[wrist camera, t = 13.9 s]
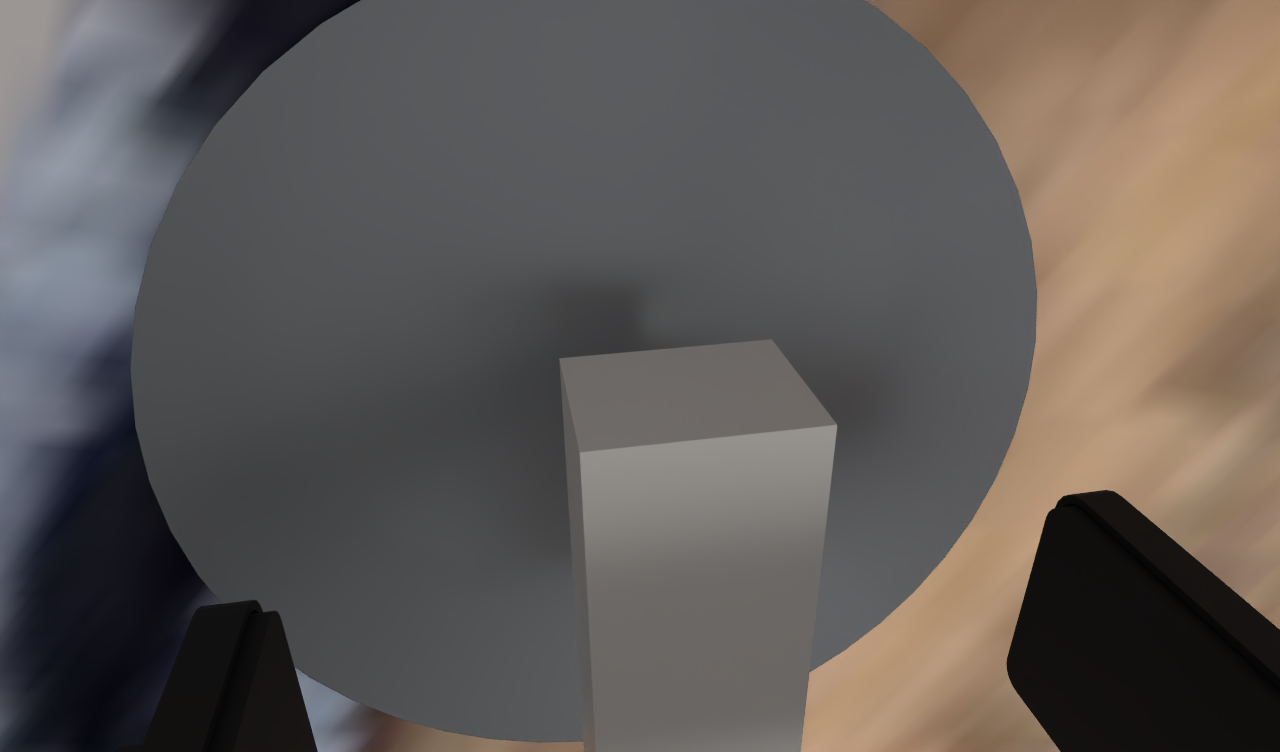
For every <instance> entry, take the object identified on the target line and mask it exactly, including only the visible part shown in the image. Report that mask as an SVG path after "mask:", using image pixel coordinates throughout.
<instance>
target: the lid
mask: <svg viewBox="0 0 1280 752" xmlns="http://www.w3.org/2000/svg"><path fill="white" fill-rule="evenodd" d="M1036 307H1037V288H1036V279H1035V270H1034V261H1033V252H1032V243H1031V238H1030V234H1029V231H1028V227H1027V223H1026V219H1025V215H1024V212H1023V208H1022V204H1021V200H1020V197H1019V193H1018V190H1017V187H1016V185H1015V183H1014V180H1013V178H1012V176H1011V173H1010V171H1009V169H1008V167H1007V164H1006V162H1005V160H1004V157H1003V155H1002V153H1001V150H1000V148H999V146H998V144H997V141H996V139H995V138H994V136H993V135H992V133H991V132H990V130H989V128H988V127H987V125H986V124H985V122H984V121H983V119H982V117H981V116H980V114H979V113H978V111H977V110H976V108H975V106H974V105H973V103H972V102H971V100H970V99H969V97H968V95H967V94H966V92H965V91H964V90H963V89H962V88H961V87H960V86H959V84H958V83H957V82H956V81H955V80H954V79H953V78H952V77H951V75H950V74H949V73H948V72H947V71H946V70H945V69H944V68H943V66H942V65H941V64H940V63H939V62H938V61H937V60H936V59H935V57H934V56H933V55H932V54H931V53H930V52H929V51H928V50H927V48H926V47H924V46H923V45H922V44H921V43H919V42H918V41H917V40H916V39H915V38H913V37H912V36H911V35H910V34H908V33H907V32H906V31H905V30H904V29H902V28H901V27H900V26H899V25H897V24H896V23H895V22H894V21H893V20H891V19H890V18H889V17H888V16H886V15H885V14H884V13H883V12H882V11H880V10H879V9H878V8H876V7H874V6H873V5H871V4H869V3H868V2H866V1H864V0H360V1H359V2H357V3H355V4H354V5H352V6H350V7H349V8H347V9H345V10H344V11H342V12H340V13H339V14H337V15H335V16H333V17H332V18H330V19H328V20H327V21H325V22H323V23H322V24H320V25H319V26H318V27H317V28H316V29H314V30H313V31H312V32H311V33H309V34H308V35H307V36H306V37H305V38H303V39H302V40H301V41H300V42H298V43H297V44H296V45H295V46H294V47H292V48H291V49H290V50H289V51H287V52H286V53H285V54H284V55H283V56H281V57H280V58H279V59H278V60H277V61H275V62H274V63H273V64H272V65H270V66H269V67H268V68H267V69H266V70H264V71H263V72H262V73H261V75H260V76H259V77H258V78H257V79H256V80H255V81H254V82H253V83H252V85H251V86H250V87H249V88H248V89H247V90H246V91H245V92H244V94H243V95H242V96H241V97H240V98H239V99H238V100H237V101H236V103H235V104H234V105H233V106H232V107H231V108H230V109H229V110H228V111H227V113H226V114H225V115H224V116H223V117H222V118H221V119H220V120H219V122H218V123H217V124H216V125H215V126H214V128H213V129H212V131H211V132H210V134H209V136H208V137H207V139H206V140H205V142H204V143H203V145H202V147H201V148H200V150H199V151H198V153H197V154H196V156H195V157H194V159H193V161H192V162H191V164H190V165H189V167H188V168H187V170H186V171H185V173H184V175H183V176H182V178H181V179H180V181H179V182H178V184H177V186H176V188H175V191H174V193H173V195H172V198H171V200H170V202H169V204H168V207H167V209H166V211H165V214H164V216H163V218H162V221H161V223H160V225H159V228H158V230H157V232H156V234H155V237H154V239H153V241H152V244H151V246H150V250H149V254H148V258H147V262H146V266H145V270H144V274H143V278H142V282H141V286H140V290H139V294H138V298H137V302H136V306H135V316H134V329H133V342H132V354H131V367H130V370H131V381H132V393H133V404H134V416H135V427H136V431H137V435H138V439H139V443H140V447H141V451H142V454H143V458H144V462H145V466H146V470H147V474H148V478H149V482H150V484H151V486H152V489H153V491H154V493H155V496H156V498H157V500H158V503H159V505H160V507H161V510H162V512H163V514H164V517H165V519H166V521H167V523H168V526H169V528H170V530H171V532H172V534H173V535H174V537H175V539H176V540H177V542H178V543H179V545H180V547H181V548H182V550H183V552H184V553H185V555H186V556H187V558H188V560H189V561H190V563H191V564H192V566H193V568H194V569H195V571H196V572H197V574H198V576H199V577H200V578H201V579H202V580H203V582H204V583H205V584H206V585H207V586H208V588H209V589H210V590H211V591H212V592H213V593H214V595H215V596H216V597H217V598H218V599H219V601H220V602H221V603H222V604H224V603H232V602H240V601H248V600H257V601H258V602H259V604H260V605H261V608H262V610H263V612H268V611H277V612H278V613H279V614H280V617H281V620H282V623H283V627H284V631H285V634H286V638H287V642H288V645H289V649H290V653H291V656H292V660H293V664H294V667H296V668H297V669H299V670H300V671H301V672H303V673H304V674H306V675H307V676H309V677H310V678H312V679H314V680H316V681H317V682H319V683H321V684H323V685H325V686H327V687H329V688H331V689H333V690H334V691H336V692H338V693H340V694H342V695H344V696H346V697H348V698H349V699H351V700H353V701H356V702H358V703H361V704H363V705H366V706H368V707H371V708H373V709H376V710H378V711H381V712H384V713H386V714H389V715H391V716H394V717H396V718H399V719H402V720H406V721H410V722H413V723H417V724H421V725H424V726H428V727H431V728H435V729H439V730H442V731H447V732H453V733H459V734H464V735H470V736H476V737H482V738H488V739H497V740H512V741H526V742H577V741H583V742H584V751H585V752H800V751H801V742H802V733H803V724H804V716H805V707H806V698H807V689H808V680H809V672H811V671H812V670H814V669H816V668H817V667H819V666H820V665H822V664H824V663H825V662H827V661H828V660H830V659H832V658H833V657H835V656H836V655H838V654H840V653H841V652H843V651H844V650H846V649H847V648H848V647H849V646H851V645H852V644H853V643H855V642H856V641H857V640H859V639H860V638H861V637H863V636H864V635H865V634H867V633H868V632H869V631H870V630H872V629H873V628H874V627H876V626H877V625H878V624H880V623H881V622H882V621H883V620H884V619H885V618H886V617H887V616H888V615H890V614H891V613H892V612H893V611H894V610H895V609H896V608H897V607H898V606H899V605H900V604H901V603H903V602H904V601H905V600H906V599H907V598H908V597H909V596H910V595H911V594H912V593H913V592H914V591H915V590H916V589H917V588H918V587H919V586H920V585H921V583H922V582H923V581H924V580H925V579H926V578H927V577H928V576H929V575H930V573H931V572H932V571H933V570H934V569H935V568H936V567H937V566H938V564H939V563H940V562H941V561H942V560H943V559H944V558H945V556H946V555H947V554H948V552H949V551H950V549H951V548H952V547H953V545H954V544H955V543H956V541H957V540H958V538H959V537H960V536H961V534H962V533H963V531H964V530H965V529H966V527H967V526H968V525H969V523H970V522H971V520H972V519H973V517H974V515H975V514H976V512H977V510H978V508H979V507H980V505H981V503H982V501H983V500H984V498H985V496H986V494H987V493H988V491H989V489H990V487H991V486H992V484H993V482H994V480H995V479H996V476H997V474H998V472H999V469H1000V467H1001V465H1002V462H1003V460H1004V458H1005V455H1006V453H1007V451H1008V448H1009V446H1010V444H1011V441H1012V439H1013V437H1014V434H1015V431H1016V427H1017V424H1018V420H1019V417H1020V414H1021V410H1022V407H1023V404H1024V400H1025V397H1026V393H1027V390H1028V384H1029V378H1030V372H1031V366H1032V360H1033V354H1034V348H1035V341H1036Z"/></svg>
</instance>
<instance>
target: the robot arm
mask: <svg viewBox="0 0 1280 752" xmlns="http://www.w3.org/2000/svg"><path fill="white" fill-rule="evenodd" d="M1007 671H1008V675H1009V679H1010V681H1011V683H1012V685H1013V687H1014V689H1015V690H1016V692H1017V693H1018V694H1019V696H1020V697H1021V698H1022V700H1023V701H1024V703H1025V704H1026V705H1027V707H1028V708H1029V709H1030V711H1031V712H1032V713H1033V715H1034V716H1035V717H1036V719H1037V720H1038V721H1039V723H1040V724H1041V726H1042V727H1043V728H1044V730H1045V731H1046V732H1047V734H1048V735H1049V736H1050V738H1051V739H1052V740H1053V742H1054V743H1055V744H1056V746H1057V747H1058V749H1059V750H1060V751H1061V752H1280V630H1279V629H1278V628H1277V627H1276V626H1275V625H1273V624H1272V623H1271V622H1270V621H1269V620H1267V619H1266V618H1265V617H1264V616H1263V615H1262V614H1260V613H1259V612H1258V611H1257V610H1256V609H1254V608H1253V607H1252V606H1251V605H1250V604H1249V603H1247V602H1246V601H1245V600H1244V599H1243V598H1241V597H1240V596H1239V595H1238V594H1237V593H1236V592H1234V591H1233V590H1232V589H1231V588H1230V587H1228V586H1227V585H1226V584H1225V583H1224V582H1222V581H1221V580H1220V579H1219V578H1218V577H1217V576H1215V575H1214V574H1213V573H1212V572H1211V571H1209V570H1208V569H1207V568H1206V567H1205V566H1204V565H1202V564H1201V563H1200V562H1199V561H1198V560H1196V559H1195V558H1194V557H1193V556H1192V555H1190V554H1189V553H1188V552H1187V551H1186V550H1185V549H1183V548H1182V547H1181V546H1180V545H1179V544H1177V543H1176V542H1175V541H1174V540H1173V539H1172V538H1170V537H1169V536H1168V535H1167V534H1166V533H1164V532H1163V531H1162V530H1161V529H1160V528H1158V527H1157V526H1156V525H1155V524H1154V523H1153V522H1151V521H1150V520H1149V519H1148V518H1147V517H1145V516H1144V515H1143V514H1142V513H1141V512H1140V511H1138V510H1137V509H1136V508H1135V507H1134V506H1132V505H1131V504H1130V503H1129V502H1128V501H1126V500H1125V499H1124V498H1123V497H1122V496H1120V495H1119V494H1117V493H1115V492H1114V491H1109V490H1103V491H1095V492H1087V493H1080V494H1072V495H1067V496H1063V497H1062V498H1061V499H1060V500H1059V501H1058V503H1057V505H1056V507H1055V509H1052V510H1051V511H1050V512H1049V513H1048V515H1047V517H1046V520H1045V524H1044V527H1043V531H1042V534H1041V538H1040V542H1039V545H1038V549H1037V552H1036V556H1035V560H1034V563H1033V567H1032V571H1031V574H1030V578H1029V581H1028V585H1027V589H1026V592H1025V596H1024V599H1023V603H1022V607H1021V610H1020V614H1019V617H1018V621H1017V625H1016V628H1015V632H1014V636H1013V639H1012V643H1011V646H1010V650H1009V654H1008V657H1007ZM116 752H318V751H317V747H316V744H315V740H314V737H313V733H312V729H311V726H310V722H309V718H308V715H307V711H306V707H305V704H304V700H303V696H302V693H301V689H300V685H299V682H298V678H297V675H296V671H295V667H294V664H293V660H292V656H291V653H290V649H289V645H288V642H287V638H286V634H285V631H284V627H283V623H282V620H281V617H280V614H279V613H278V612H277V611H268V612H263V610H262V608H261V605H260V604H259V602H258V601H257V600H248V601H240V602H232V603H224V604H217V605H209V606H201V607H200V608H198V609H197V610H196V612H195V614H194V615H193V617H192V620H191V622H190V625H189V627H188V630H187V633H186V635H185V638H184V640H183V643H182V645H181V648H180V650H179V653H178V656H177V658H176V661H175V663H174V666H173V668H172V671H171V673H170V676H169V678H168V681H167V684H166V686H165V689H164V691H163V694H162V696H161V699H160V701H159V704H158V707H157V709H156V712H155V714H154V717H153V719H152V722H151V724H150V727H149V730H148V732H147V735H146V737H145V740H144V742H143V743H141V744H135V745H128V746H124V747H120V748H119V749H118V750H117V751H116Z"/></svg>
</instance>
